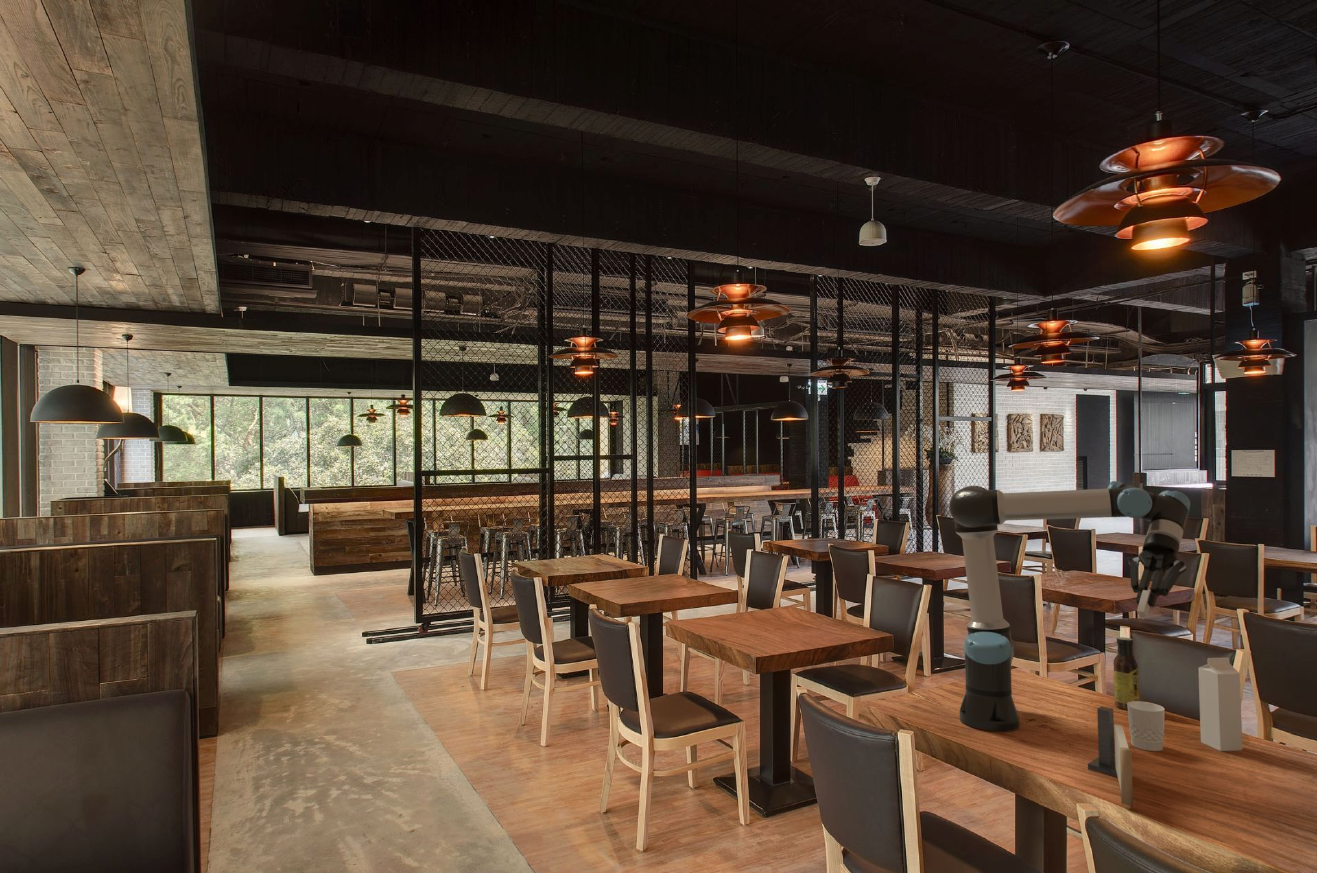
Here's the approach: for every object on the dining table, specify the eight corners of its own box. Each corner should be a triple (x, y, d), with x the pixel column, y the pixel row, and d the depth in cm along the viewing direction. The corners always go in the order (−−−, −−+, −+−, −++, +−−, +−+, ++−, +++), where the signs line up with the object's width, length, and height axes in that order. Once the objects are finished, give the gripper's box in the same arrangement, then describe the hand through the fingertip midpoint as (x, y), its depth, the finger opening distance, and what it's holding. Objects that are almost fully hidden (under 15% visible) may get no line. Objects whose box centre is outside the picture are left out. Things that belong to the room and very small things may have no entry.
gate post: (1088, 769, 172) (1086, 708, 173) (1098, 762, 176) (1096, 702, 177) (1116, 777, 168) (1114, 714, 168) (1126, 770, 171) (1124, 709, 172)
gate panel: (1114, 770, 169) (1113, 721, 170) (1124, 771, 168) (1123, 722, 169) (1121, 804, 152) (1120, 750, 153) (1133, 806, 151) (1131, 751, 152)
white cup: (1172, 753, 181) (1170, 712, 181) (1136, 751, 183) (1135, 710, 183) (1157, 741, 189) (1155, 702, 189) (1123, 739, 190) (1121, 700, 191)
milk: (1200, 742, 188) (1196, 655, 189) (1222, 741, 189) (1218, 654, 190) (1221, 752, 182) (1217, 661, 183) (1243, 750, 183) (1239, 660, 184)
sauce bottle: (1140, 712, 210) (1138, 642, 211) (1114, 709, 214) (1112, 639, 215) (1139, 706, 216) (1137, 637, 217) (1114, 702, 219) (1112, 635, 220)
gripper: (1196, 553, 189) (1176, 628, 178) (1138, 548, 199) (1116, 620, 188) (1188, 533, 186) (1168, 609, 174) (1130, 530, 196) (1107, 601, 184)
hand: (1141, 614), depth 181 cm, fingers closed
